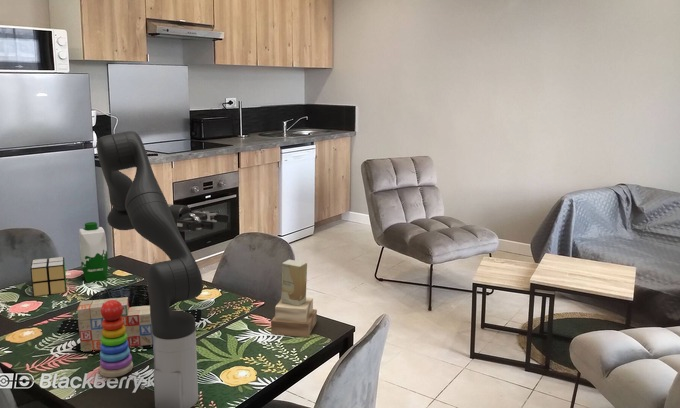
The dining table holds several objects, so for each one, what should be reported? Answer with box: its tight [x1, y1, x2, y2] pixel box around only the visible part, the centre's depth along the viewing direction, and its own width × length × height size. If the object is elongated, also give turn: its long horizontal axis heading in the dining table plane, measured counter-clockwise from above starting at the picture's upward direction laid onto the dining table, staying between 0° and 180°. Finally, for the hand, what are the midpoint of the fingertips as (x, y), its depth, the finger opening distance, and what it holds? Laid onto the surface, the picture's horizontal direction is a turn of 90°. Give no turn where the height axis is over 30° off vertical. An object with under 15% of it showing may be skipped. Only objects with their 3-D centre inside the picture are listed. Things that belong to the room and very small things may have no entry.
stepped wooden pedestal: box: [270, 297, 318, 338], centre depth 170 cm, size 11×11×8 cm
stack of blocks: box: [76, 296, 153, 352], centre depth 158 cm, size 21×6×12 cm, turn 105°
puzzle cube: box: [29, 256, 67, 298], centre depth 196 cm, size 10×10×10 cm
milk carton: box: [78, 221, 109, 283], centre depth 207 cm, size 9×9×20 cm
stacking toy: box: [98, 300, 134, 378], centre depth 142 cm, size 8×8×19 cm
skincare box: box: [280, 258, 308, 306], centre depth 167 cm, size 6×4×12 cm
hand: (221, 222), depth 163 cm, fingers open, 8 cm apart
